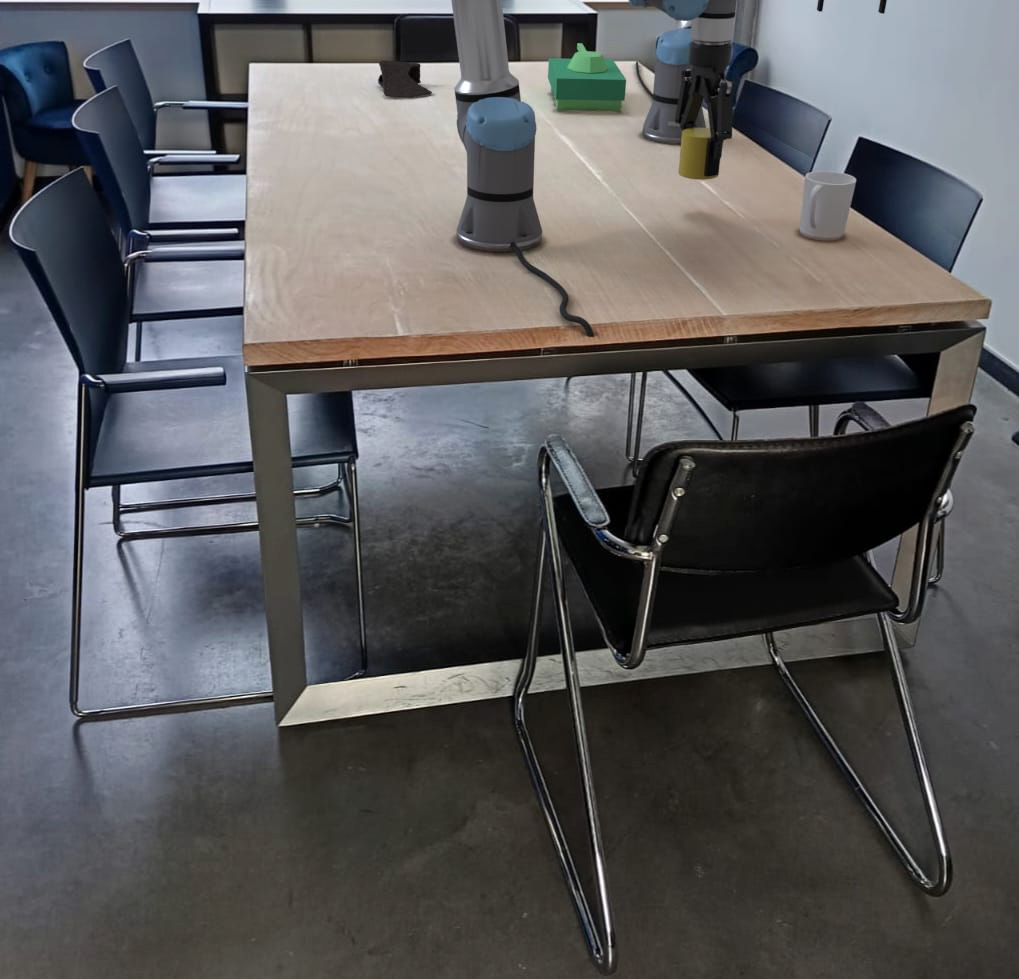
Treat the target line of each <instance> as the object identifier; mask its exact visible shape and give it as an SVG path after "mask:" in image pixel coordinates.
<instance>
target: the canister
mask: <svg viewBox="0 0 1019 979" xmlns="http://www.w3.org/2000/svg"><path fill="white" fill-rule="evenodd" d="M710 138H711V134H710V127H706V128H688V129H685V130H683V131H682V139H681V144H680V151H679V162H678V175H679V176H681V177H683V178H686V179H691V180H699V181H700V180H703V181H704V180H712V179H716V178H718V177H719V175H720V173H719V174H718V175H715V176H708V177H706V176H704V172H705V162H706V152H707V142H708V139H710ZM720 165H721V164H720ZM720 165H719V167H720Z"/></svg>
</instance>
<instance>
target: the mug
mask: <svg viewBox="0 0 1019 979" xmlns="http://www.w3.org/2000/svg"><path fill="white" fill-rule="evenodd" d="M856 183H857V178H856V177H855V176H853V175H851V174H848V173H844V172H840V171H832V170H816V171H809V172H807V173H806V174H805V177H804V184H803V194H802V203H801V212H800V219H799V228H798V232H799V234H800V235H802V236H803V237H805V238H809V239H812V240H817V241H836V240H840V239H842V238H843V237H844V236H845V230H846V227H847V221H848V217H849V215H850V214H849V213H850V209H851V205H852V201H853V196H854V193H855V189H856Z"/></svg>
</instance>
